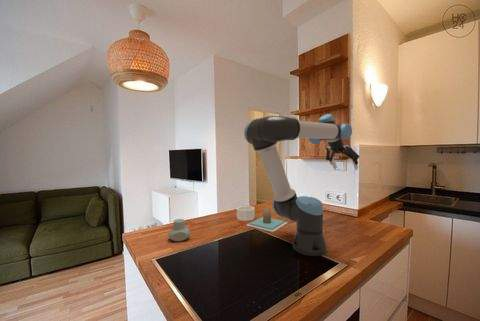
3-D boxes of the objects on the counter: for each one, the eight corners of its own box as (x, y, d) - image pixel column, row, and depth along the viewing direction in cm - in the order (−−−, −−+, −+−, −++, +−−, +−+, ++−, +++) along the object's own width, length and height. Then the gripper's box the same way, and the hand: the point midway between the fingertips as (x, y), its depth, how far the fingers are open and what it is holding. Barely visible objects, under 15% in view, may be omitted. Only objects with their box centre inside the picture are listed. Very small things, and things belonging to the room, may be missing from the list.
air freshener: (168, 243, 108) (167, 224, 108) (169, 237, 116) (168, 219, 116) (190, 240, 111) (190, 221, 110) (190, 234, 119) (189, 217, 118)
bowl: (247, 222, 138) (247, 211, 137) (233, 219, 145) (233, 208, 145) (257, 217, 147) (257, 207, 147) (244, 214, 155) (243, 205, 154)
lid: (271, 230, 122) (271, 214, 122) (249, 224, 132) (248, 210, 132) (284, 222, 135) (284, 208, 134) (262, 218, 145) (262, 204, 144)
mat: (272, 232, 120) (272, 231, 120) (245, 225, 132) (245, 224, 132) (287, 223, 135) (287, 222, 135) (262, 217, 147) (262, 217, 147)
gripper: (358, 133, 118) (369, 165, 124) (319, 138, 139) (330, 165, 145) (352, 140, 115) (364, 172, 121) (313, 144, 135) (325, 171, 142)
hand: (345, 168), depth 133 cm, fingers open, 13 cm apart
